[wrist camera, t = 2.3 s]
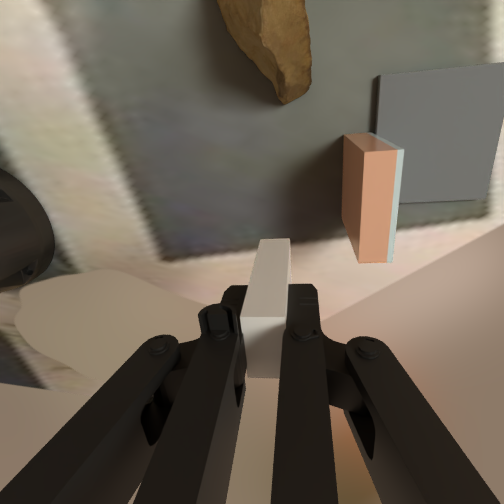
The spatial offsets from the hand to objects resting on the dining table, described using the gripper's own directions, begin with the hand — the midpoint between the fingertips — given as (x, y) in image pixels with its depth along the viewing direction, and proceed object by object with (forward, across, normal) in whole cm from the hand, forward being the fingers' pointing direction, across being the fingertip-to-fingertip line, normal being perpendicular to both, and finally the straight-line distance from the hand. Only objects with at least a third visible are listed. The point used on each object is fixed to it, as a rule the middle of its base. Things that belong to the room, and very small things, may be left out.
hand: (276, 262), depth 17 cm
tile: (+17, +6, 0) cm, 18 cm away
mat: (+17, +13, +3) cm, 22 cm away
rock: (+17, -2, +12) cm, 21 cm away
